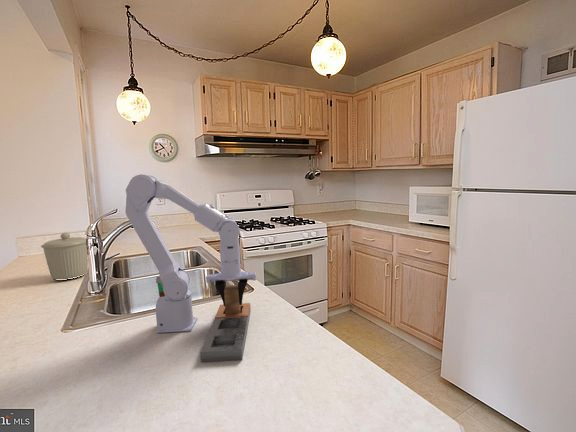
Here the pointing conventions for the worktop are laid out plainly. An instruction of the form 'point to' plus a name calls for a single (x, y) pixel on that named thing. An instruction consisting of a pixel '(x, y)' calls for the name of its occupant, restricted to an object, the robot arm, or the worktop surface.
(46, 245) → the canister
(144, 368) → the worktop surface
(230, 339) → the rail
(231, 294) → the peg
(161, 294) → the food container
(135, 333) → the worktop surface
